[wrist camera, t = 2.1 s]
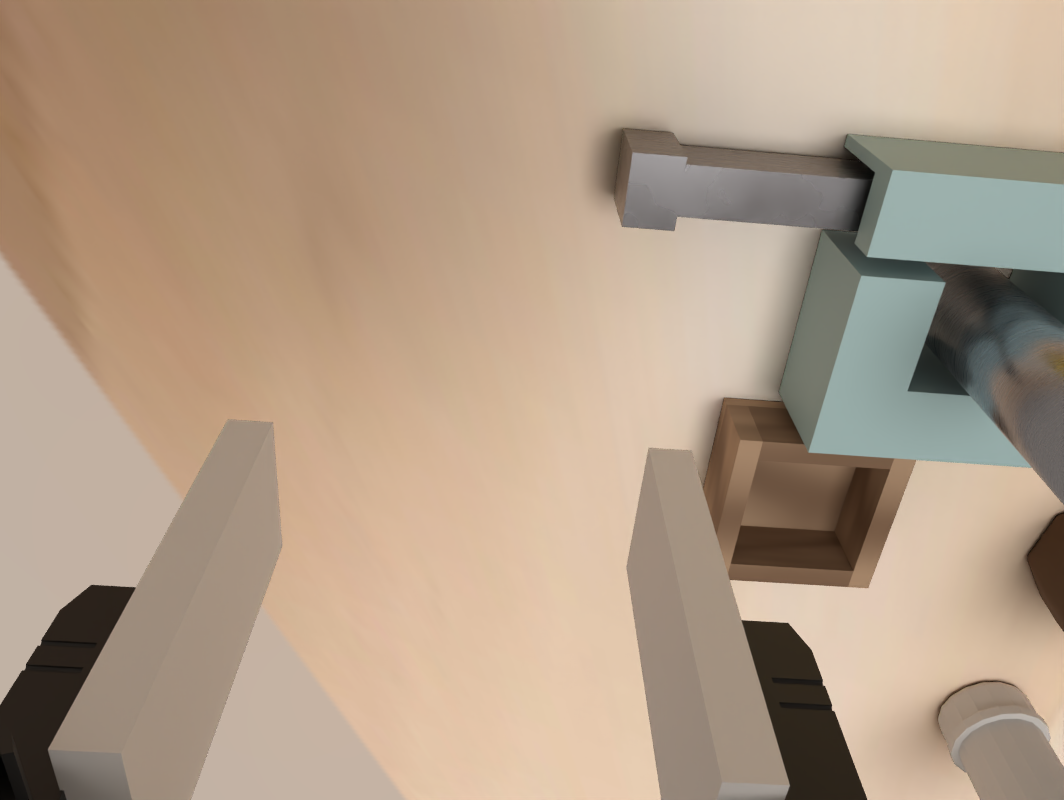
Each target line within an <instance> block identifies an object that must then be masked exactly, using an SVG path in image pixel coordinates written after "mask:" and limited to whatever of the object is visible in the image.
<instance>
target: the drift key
mask: <svg viewBox="0 0 1064 800" xmlns="http://www.w3.org/2000/svg"><path fill="white" fill-rule="evenodd" d="M874 175H875V172H874V171H873V170H872V169H870V168H869V167H868V166H867V165H866V164H864V163H863V162H862V161H860V160H848V159H836V158H825V157H813V156H801V155H790V154H778V153H767V152H755V151H743V150H732V149H720V148H708V147H697V146H685V145H680V144H679V142H678V140H677V139H676V137H675V135H674V133H668V132H657V131H645V130H634V129H623V134H622V141H621V148H620V156H619V163H618V170H617V177H616V185H615V192H614V200H615V204H616V207H617V211H618V214H619V218H620V222H621V225H622V227H632V228H644V229H657V230H669V231H674V230H675V224H676V219H677V217H688V218H700V219H713V220H725V221H737V222H749V223H761V224H774V225H786V226H798V227H810V228H823V229H835V230H847V231H858V230H859V226H860V223H861V219H862V216H863V213H864V209H865V206H866V202H867V199H868V195H869V192H870V188H871V185H872V181H873V178H874Z"/></svg>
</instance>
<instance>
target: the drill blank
mask: <svg viewBox="0 0 1064 800" xmlns="http://www.w3.org/2000/svg"><path fill="white" fill-rule="evenodd" d="M925 263H926V264H927V265H928V266H929V267H930V268H931V269H932V270H933V271H934V272H935V273H936V274H937V275H938V276H940V277H941V278H942V279H943V280H944V281H945V282H946V283H945V286H944V289H943V292H942V294H941V297H940V300H939V303H938V306H937V309H936V311H935V314H934V317H933V320H932V323H931V326H930V328H929V331H928V334H927V337H926V340H925V344H926V345H927V346H928V347H929V349H930V350H931V351H932V352H933V353H934V354H935V356H936V357H937V358H938V359H939V360H940V361H941V363H942V364H943V365H944V366H945V367H946V368H947V370H948V371H949V372H950V373H951V374H952V375H953V376H954V378H955V379H956V380H957V381H958V382H959V383H960V385H961V386H962V387H963V388H964V389H965V390H966V392H967V393H968V394H969V395H970V396H971V397H972V399H973V400H974V401H975V402H976V403H977V404H978V406H979V407H980V408H981V409H982V410H983V411H984V413H985V414H986V415H987V416H988V417H989V418H990V419H991V421H992V422H993V423H994V424H995V425H996V426H997V428H998V429H999V430H1000V431H1001V432H1002V433H1003V435H1004V436H1005V437H1006V438H1007V439H1008V440H1009V442H1010V443H1011V444H1012V445H1013V446H1014V447H1015V449H1016V450H1017V451H1018V452H1019V453H1020V454H1021V456H1022V457H1023V458H1024V459H1025V460H1026V461H1027V462H1028V464H1029V465H1030V466H1031V467H1032V468H1033V469H1034V471H1035V472H1036V473H1037V474H1038V475H1039V476H1040V478H1041V479H1042V480H1043V481H1044V482H1045V483H1046V485H1047V486H1048V487H1049V488H1050V489H1051V490H1052V492H1053V493H1054V494H1055V495H1056V496H1057V497H1058V498H1059V500H1060V501H1061V502H1062V503H1063V504H1064V325H1063V324H1062V323H1061V322H1060V321H1059V320H1057V319H1056V318H1055V317H1054V316H1052V315H1051V314H1050V313H1049V312H1048V311H1046V310H1045V309H1044V308H1043V307H1042V306H1040V305H1039V304H1038V303H1037V302H1036V301H1034V300H1033V299H1032V298H1031V297H1030V296H1028V295H1027V294H1026V293H1025V292H1024V291H1022V290H1021V289H1020V288H1019V287H1018V286H1016V285H1015V284H1014V283H1013V282H1011V281H1010V280H1009V279H1008V278H1007V277H1005V276H1004V275H1003V274H1002V273H1001V272H999V271H998V270H997V269H996V268H995V267H986V266H973V265H961V264H948V263H936V262H925Z"/></svg>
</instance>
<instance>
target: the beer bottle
mask: <svg viewBox="0 0 1064 800" xmlns="http://www.w3.org/2000/svg"><path fill="white" fill-rule="evenodd" d="M1028 562H1029V565H1030V568H1031V571H1032V573H1033V576H1034V579H1035V582H1036V584H1037V587H1038V590H1039V593H1040V595H1041V597H1042V599H1043V601H1044V602H1045V604H1046V605H1047V607H1048V609H1049V610H1050V612H1051V613H1052V615H1053V617H1054V618H1055V620H1056V622H1057V623H1058V624H1059V626H1060V627H1061V629H1062V630H1063V631H1064V513H1062V514H1059V515H1057V516H1056V517H1055V519H1054V520H1053V522H1052V523H1051V524H1050V526H1049V527H1048V528H1047V530H1046V531H1045V532H1044V534H1043V535H1042V537H1041V538H1040V539H1039V541H1038V542H1037V543H1036V545H1035V546H1034V548H1033V549H1032V550H1031V552H1030V553H1029V554H1028Z"/></svg>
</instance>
